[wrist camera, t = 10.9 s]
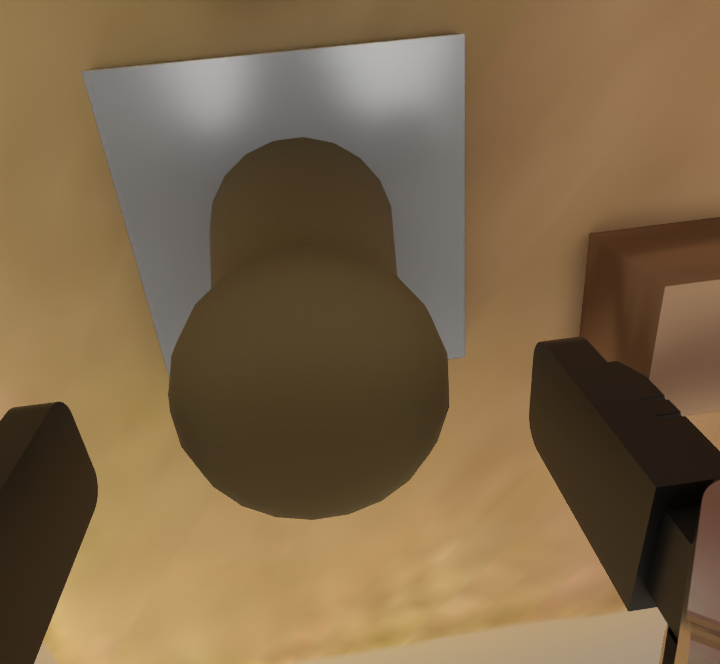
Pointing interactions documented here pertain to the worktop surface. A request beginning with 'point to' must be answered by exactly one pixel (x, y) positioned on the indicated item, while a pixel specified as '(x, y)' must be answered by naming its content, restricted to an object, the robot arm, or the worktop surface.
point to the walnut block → (659, 307)
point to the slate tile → (285, 121)
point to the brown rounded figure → (306, 341)
